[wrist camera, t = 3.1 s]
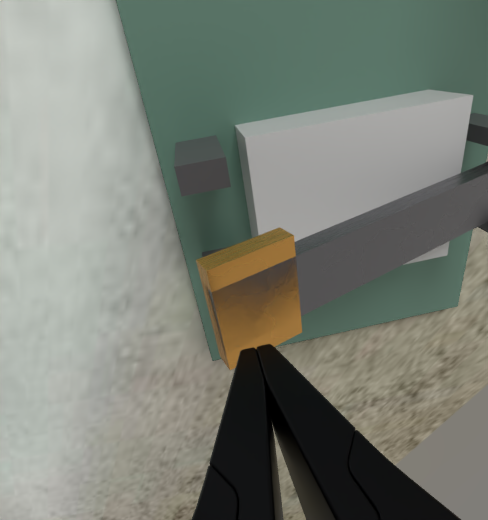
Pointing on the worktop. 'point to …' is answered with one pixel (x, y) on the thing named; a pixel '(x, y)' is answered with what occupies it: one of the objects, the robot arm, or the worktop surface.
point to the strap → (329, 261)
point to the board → (293, 77)
